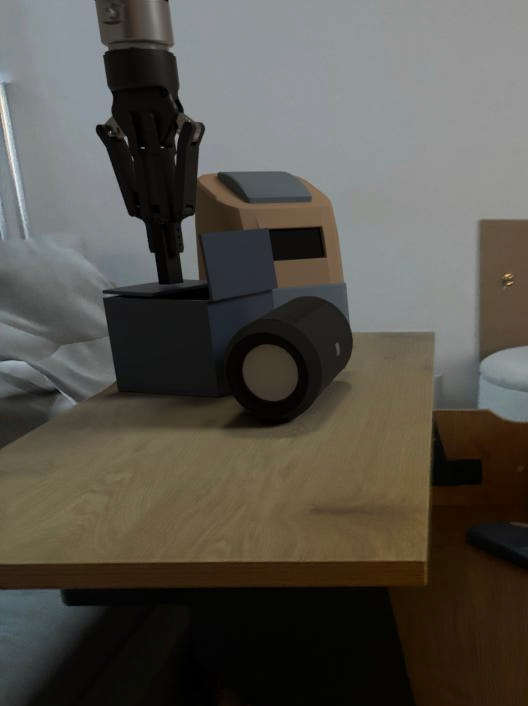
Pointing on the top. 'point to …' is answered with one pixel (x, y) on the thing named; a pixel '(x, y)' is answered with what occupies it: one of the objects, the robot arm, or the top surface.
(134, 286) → the flap
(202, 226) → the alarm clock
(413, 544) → the top surface
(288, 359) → the portable speaker
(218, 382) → the carton
